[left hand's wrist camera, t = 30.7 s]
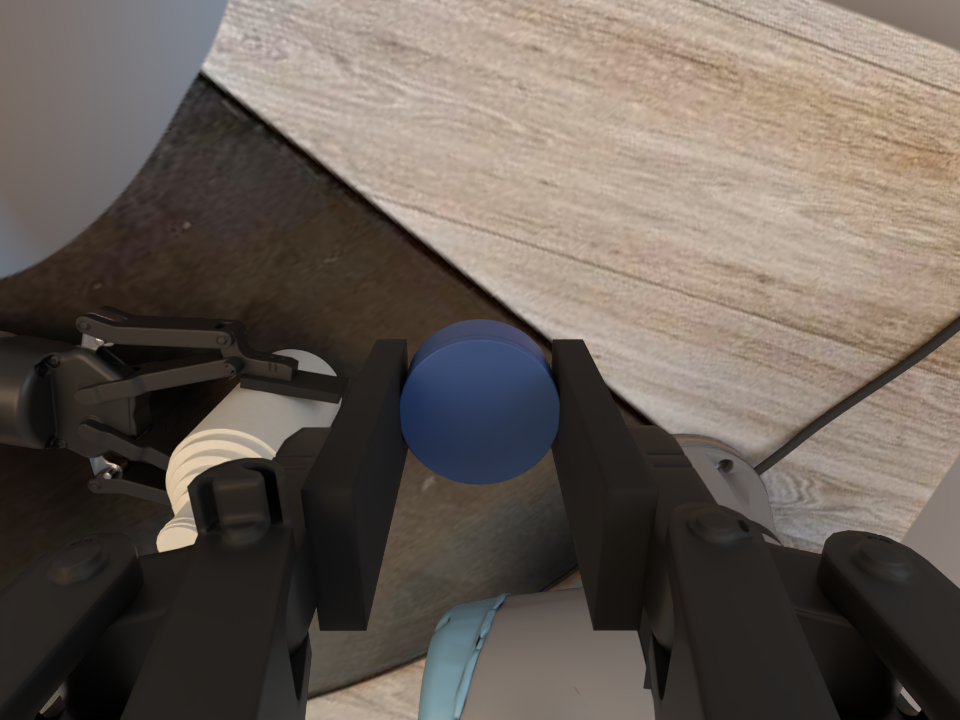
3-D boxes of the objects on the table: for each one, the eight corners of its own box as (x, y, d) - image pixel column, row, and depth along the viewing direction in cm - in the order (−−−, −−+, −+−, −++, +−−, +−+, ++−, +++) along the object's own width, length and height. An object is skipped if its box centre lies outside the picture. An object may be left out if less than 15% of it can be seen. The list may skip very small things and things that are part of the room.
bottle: (311, 334, 44) (199, 464, 27) (358, 410, 47) (285, 575, 29) (233, 371, 45) (76, 520, 28) (283, 444, 48) (168, 622, 30)
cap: (381, 411, 15) (370, 441, 13) (451, 290, 14) (448, 308, 12) (503, 473, 15) (506, 509, 14) (581, 364, 14) (593, 389, 13)
